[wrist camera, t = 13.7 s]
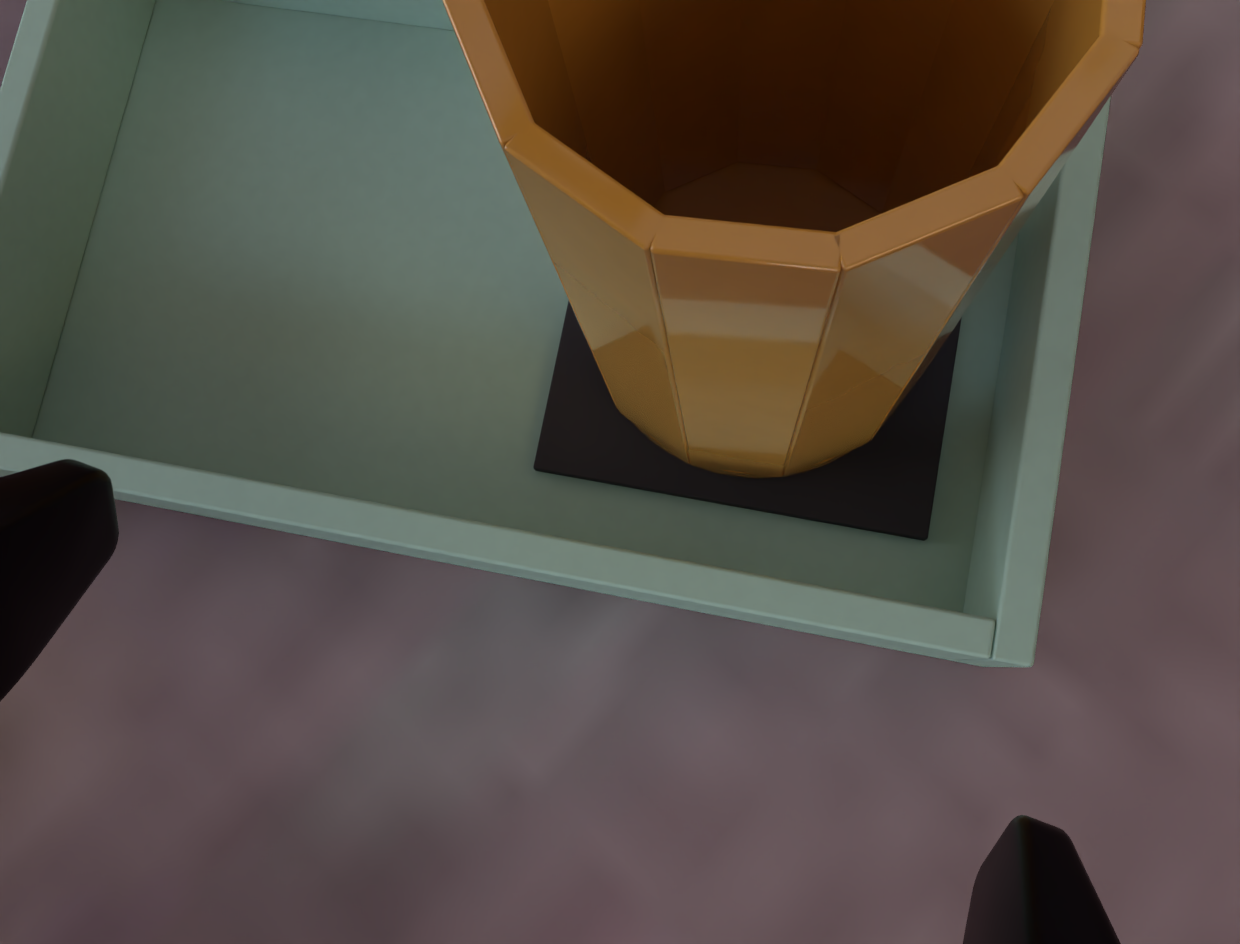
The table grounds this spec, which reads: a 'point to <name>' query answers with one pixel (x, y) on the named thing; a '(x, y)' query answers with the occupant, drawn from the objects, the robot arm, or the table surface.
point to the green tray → (436, 329)
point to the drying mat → (834, 493)
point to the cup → (783, 190)
